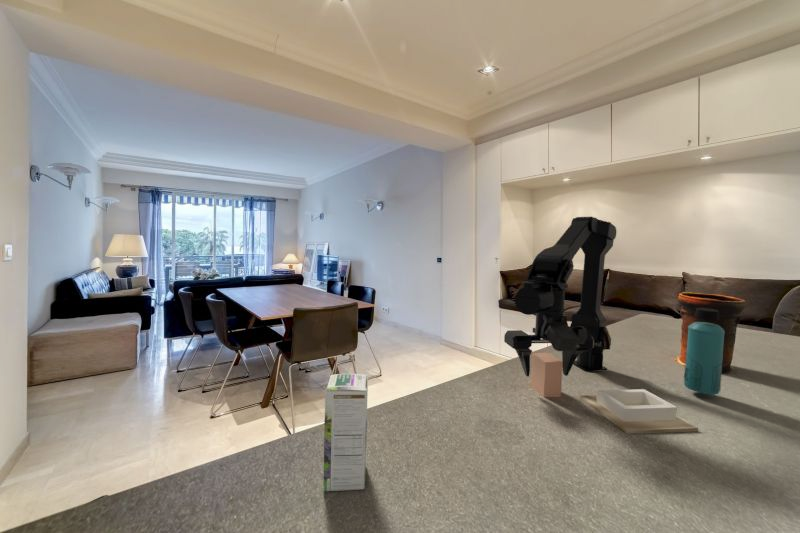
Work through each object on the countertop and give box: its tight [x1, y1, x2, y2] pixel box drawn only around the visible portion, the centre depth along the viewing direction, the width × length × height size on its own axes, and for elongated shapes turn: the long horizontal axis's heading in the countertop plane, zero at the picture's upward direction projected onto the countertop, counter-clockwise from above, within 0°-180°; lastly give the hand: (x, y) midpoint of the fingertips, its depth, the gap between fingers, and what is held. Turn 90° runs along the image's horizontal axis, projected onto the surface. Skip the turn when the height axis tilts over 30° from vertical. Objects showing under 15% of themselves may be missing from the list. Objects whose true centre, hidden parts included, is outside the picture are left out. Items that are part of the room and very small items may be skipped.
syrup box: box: [323, 373, 369, 492], centre depth 50 cm, size 6×6×14 cm
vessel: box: [674, 291, 747, 374], centre depth 99 cm, size 14×14×20 cm
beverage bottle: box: [683, 308, 725, 396], centre depth 79 cm, size 6×7×20 cm
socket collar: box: [596, 388, 678, 422], centre depth 70 cm, size 8×11×2 cm
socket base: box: [580, 394, 699, 435], centre depth 71 cm, size 14×14×1 cm
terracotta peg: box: [530, 352, 563, 398], centre depth 80 cm, size 6×4×8 cm, turn 5°
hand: (546, 375), depth 80 cm, fingers open, 9 cm apart
